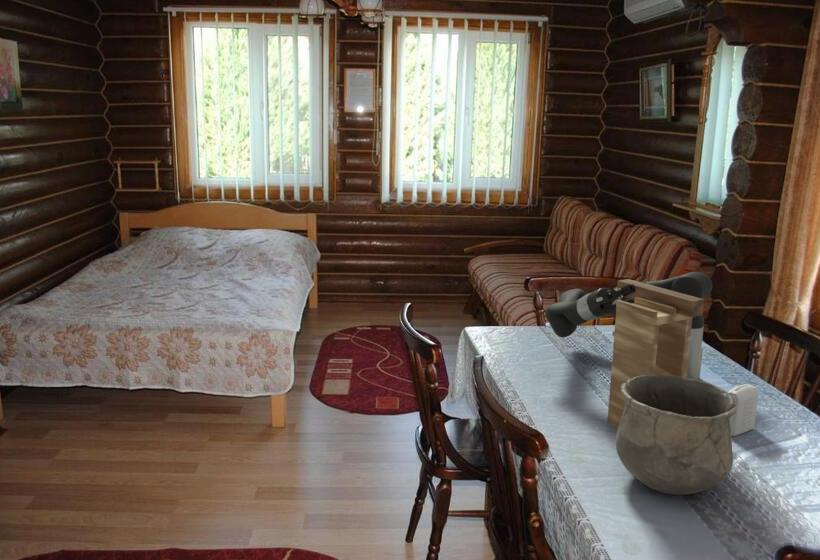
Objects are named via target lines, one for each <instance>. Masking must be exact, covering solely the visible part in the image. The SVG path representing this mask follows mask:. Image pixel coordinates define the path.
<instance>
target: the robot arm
mask: <svg viewBox="0 0 820 560" xmlns="http://www.w3.org/2000/svg"><path fill="white" fill-rule="evenodd" d="M640 282H641V283H645V284H649V285H652V286H656V287H660V288H664V289H667V290H671V291H675V292H679V293H682V294H686V295H690V296H693V297H697V298H701V299H704V300H705V299H707V298H708V297H709V296H710V294H711V293H712V290H713V285H714V284H713V281H712V279H711V278H710V277H709V276H708V275H707V274H705V273H703V272H701V271H689V272H687V273H684V274H681V275H678V276H675V277H672V278H671V277H670V278H667V279H661V280H649V281H640ZM634 292H635V287H634V284H630V285H628V286H625V287H623V288H618V289H617V286H616V287H614V288H612V289H610V288H607V287H601V288H599V289H596V290H594V291H591V292H590V293H587V294H586V292H585V290H583V289H582V288H573V289H568V290H566V291H564V292H562V293H561V294H560V295H559V302H555V303H552V304H550V305H548V307H546V308H545V309H546V310H545V312H544V316H545V318H546V320H547V322H548V323H549V324H548V325H550V327H551V329H552V331H553V332H554V333H555V335H556V336H557V337H559V338H566V337H569V336H571V335H573V334H574V333H575V331H576V330H577V328H578V326H579V325H582V324H585V323H587V322H590V321H594V320H597V319H600V318H603V317H605V316H611V315H612V316H613V315H616V307H617V306H616V301H617V300H622V301H625V302H628V303H634V302H635V300H631V299H628V298H625V297H624V296H626V295H629V294H631V293H634ZM704 325H705V318H704V316H703V315H701V316H696V317H692V326H691V336H690V345H689V355H688V364H687V374H686V378H689V379H697V380H699V379H700V378H701V369H702V360H703V351H704V350H703V348H702V344H703V335H704V328H705V327H704Z"/></svg>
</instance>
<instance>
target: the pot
mask: <svg viewBox="0 0 820 560" xmlns="http://www.w3.org/2000/svg"><path fill="white" fill-rule="evenodd" d="M621 393H622V395H623V396H624V398H625V407H624V411H623V415H622V418H621V421H620V424H619V427H618V428H617V431H616V434H615V447H616V448H615V450H616V453H617V456H618V458H619V460H620V461H621V463H622V465H623V466H624V468H625V469H626V470H627V471H628V473H629V474H630V475H632V476H633V477H634V478H635V479H637V480H638V481H639V482H641V483H642V484H643V485H645V486H647V487H648V488H650V489H653V490H655V491H657V492H660V493H663V494H667V495H677V496H679V495H680V496H681V495H682V496H684V495H691V494H696V493H699V492H702V491H706V490H709V489H711V488H713V487H715V486H717V485H718V484H719V483H721V482H723V481H724V480H725V479H726V478H727V477H728V475H729V474H730V472H731V470H732V469H733V462H734V455H733V441H732V436H731V426H730V417H731V416H733V415H735V414H736V412H737V410H736V409H732V408H734V407H735V406H736V405H735V399H734V397H733V396H731V395H730V394H728V392H727V391H726V390H724V389H723V388H721V387H719V386H717V385H715V384H712V383H710V382H708V381H703V380H700V379H698V380H697V379H689V378H686V379H684V380H683V378H682V377H680V376H672V375H668V376H667V375H642V376H637V377H634V378H633V379H630V380H627V382H626V383H623V384H622V385H621Z"/></svg>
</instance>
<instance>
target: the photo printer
mask: <svg viewBox="0 0 820 560" xmlns="http://www.w3.org/2000/svg"><path fill="white" fill-rule="evenodd" d="M727 393H728V394H730V395H731V396H733V397H734V399H735V405H736V406H735V407H734V408H732V409H736V410H737V412H736V414H735V415H733V416H731V417H730V426H731V437H736V436H740V435H742V434H744V433H747V432H748V431H749V432H750V431H752V430H753V429H754V428H755V424H756V417H757V416H756V415H757V410H758V409H757V408H758V402H759V396H760V395H759V394H760V393H759V390H758V388H757V387H756V386H755V385H751V384H748V383H746V384H740V385H737V386H734V387H733V388H732V389H730V390H729V391H728V392H727Z"/></svg>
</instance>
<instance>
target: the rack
mask: <svg viewBox="0 0 820 560" xmlns="http://www.w3.org/2000/svg"><path fill="white" fill-rule="evenodd" d="M616 306H617V307H616V314H615V321H614V322H615V323H614V332H615V333H614V336H613V347H612V360H611V372H610V373H611V375H610V385H609V395H608V397H609V399H608V412H607V423H608V424H609V423H610V425H611V424H612V425H611V426H613V425H614V426H613V427H615V428H617V429H618V427H619V424H620V421H621V418H622V415H623V411H624V407H625V398H624V396H623V395H622V393H621V385H622V384H623V383H626V382H627V380H630V379H633V378H634V377H637V376H642V375H667V376H668V375H672V376H680V377H682V378H683V380H684V379H686V374H687V364H688V355H689V345H690V336H691V326H692V318H691V317H688V316H685V315H681V314H678V313H676V308H675V307H672V306H668V305H665V304H661V303H658V302H654V301H651V300H648V299H644V298H641V297H635V302H634V303H628V302H625V301H622V300H617V301H616Z"/></svg>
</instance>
